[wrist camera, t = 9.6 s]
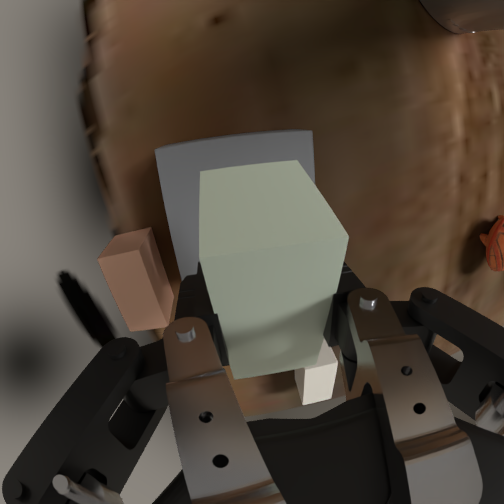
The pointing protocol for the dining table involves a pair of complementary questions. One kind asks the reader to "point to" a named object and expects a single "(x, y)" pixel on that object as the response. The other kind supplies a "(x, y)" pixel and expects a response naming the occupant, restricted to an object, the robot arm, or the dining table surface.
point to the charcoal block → (215, 157)
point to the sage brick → (269, 263)
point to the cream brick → (317, 377)
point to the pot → (495, 245)
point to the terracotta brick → (138, 280)
